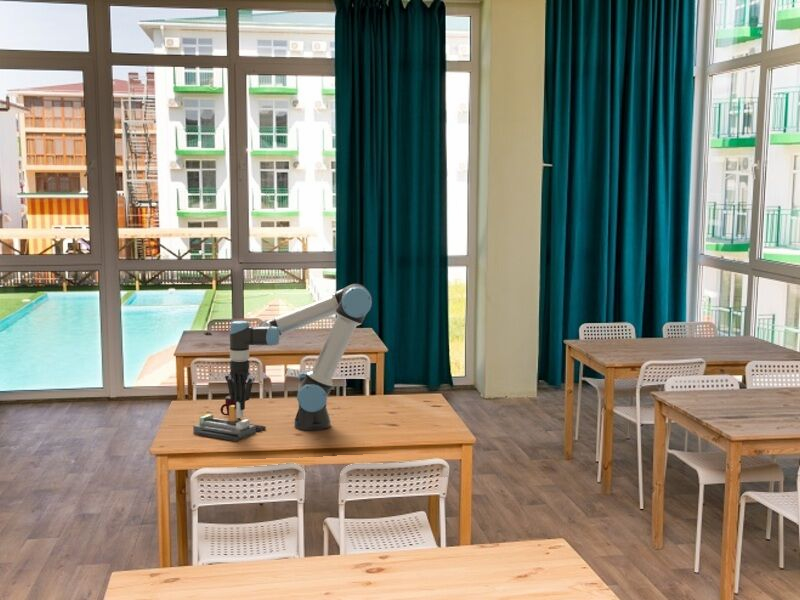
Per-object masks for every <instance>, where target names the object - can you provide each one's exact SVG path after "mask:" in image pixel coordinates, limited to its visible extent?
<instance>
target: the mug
mask: <svg viewBox="0 0 800 600" xmlns="http://www.w3.org/2000/svg"><path fill="white" fill-rule="evenodd" d="M224 399H225V401H224V402H225V403H223V404H222V405H221V406H220V410H219V411H220V413H221V415H224V416H228V417H229V406H231V405H235V401H234V400H233V399H232V400H231V398H230V395H227V396H225V398H224ZM239 401H240V400H239ZM224 408H226V413H225V412H224ZM238 420H240V421H241V418H238Z"/></svg>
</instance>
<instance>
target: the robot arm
mask: <svg viewBox="0 0 800 600" xmlns="http://www.w3.org/2000/svg"><path fill="white" fill-rule="evenodd" d="M372 305H373V299H372V295H371V293H370V291H369V289H367V288H366V287H365V286H364V285H363V284H360V283H352V284H350V285H347V286H346V287H344V288H342V289H339V290H337V291H335V292H333V293H332V295H331V296H328V297H326V298H323V299H320V300H318V301H315V302H313V303H310V304H308V305H307V304H306V305H304V306H303V307H299V308H297V309H295V310H292V311H289V312H287V313H285V314H282V315H281V314H280V315H279V316H277V317H275V318H271V319H267V320H264V321H261V323H260V324H258V326H252V325H251V326H250V323H249V321H247V320H234V321H232V322H230V325H229V359H230V361H229V367H230V368H229V369H230V371H229V374H228V375H225V376H224V379H225V380H226V382H227V388H228V393H229V396H230V398H231V400H232V399H233V400H234V401H235V409H236V418H240V419H242V418H244V410H245V409H246V402H247V401H249V400H250V399H251V398H250V397H251V394H252V393H251V392H252V388H253V383H254V382H255V377H252V376H251V375H250V372H249V371H250V360H249V359H250V346H270V347H271V346H277V345H279V343H280V336H282V335H284V334H286V333H287V334H288V333H290V332H292V331H295V330H297V329H301V328H302V327H305V326H307V325H310V324H313V323H316V322H318V321H322V320H323V319H326V318H329V317H332V316H334V315H336V318H335V321H334V323H333V325H332V328H331V329H330V331H329V333H328V336H327V338H326V339H325V342H324V344H323V346H322V348H321V351H320V353H319V355H318V357H317V360H316V362H315V363H314V366H313V368H312V370H310V371H305V372H300V373H299V374H298V379H297V380H298V388H297V389H298V391H297V395H296V400H297V402H298V408H297V413H296V414H295V418H294V422H293V423H294V425H293V426H294V428H295V429H298V430H302V431H321V430H325V429H329V428H330V427H331V418H330V415H329V412H328V408H327V402H328V396H329V395H330V392H331V390H332V388H333V385H334V383H333V377H334V376H335V372H336V370H337V368H338V366H339V364H340V362H341V360H342V358H343V356H344V353H345V352H346V349H347V347H348V344H349V343H350V341H351V338H352V337H353V334H354V332H355V329H356V328H357V326H360V325H362V324H363V322H364V320H365V318H366V316H367V314H369V312H370V310H371V308H372ZM239 400H240V401H239Z"/></svg>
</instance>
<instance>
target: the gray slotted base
mask: <svg viewBox="0 0 800 600" xmlns="http://www.w3.org/2000/svg"><path fill="white" fill-rule="evenodd" d="M228 420H229V419H221V418H216V417H215V418H214V414H212V413H209V414H205V415H202V416H200V417H199V423H198V424H194V425H193V426H192V427H193V434H196V433H197V434H196V435H198V431H206V432H211V433H217V434H223V435H229V436H235V437H238V441H241V440H242V439H245V438H247V437H249V435H250V436H252V435H254V434H256V433H257V431H256V426H254V425H255V424H252V425H250V424H251V423H250V419H247V418H245V419H243V420H240V422H237V423H236V425H230V424H227V421H228ZM251 434H252V435H251Z"/></svg>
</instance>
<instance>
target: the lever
mask: <svg viewBox="0 0 800 600" xmlns="http://www.w3.org/2000/svg"><path fill="white" fill-rule="evenodd" d="M227 420H228V421H227V424H230V425H236V423H237V422H240V421H241V419H240V420H238V418H236V409H235V405H231V406H229V416H228V419H227Z"/></svg>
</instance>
